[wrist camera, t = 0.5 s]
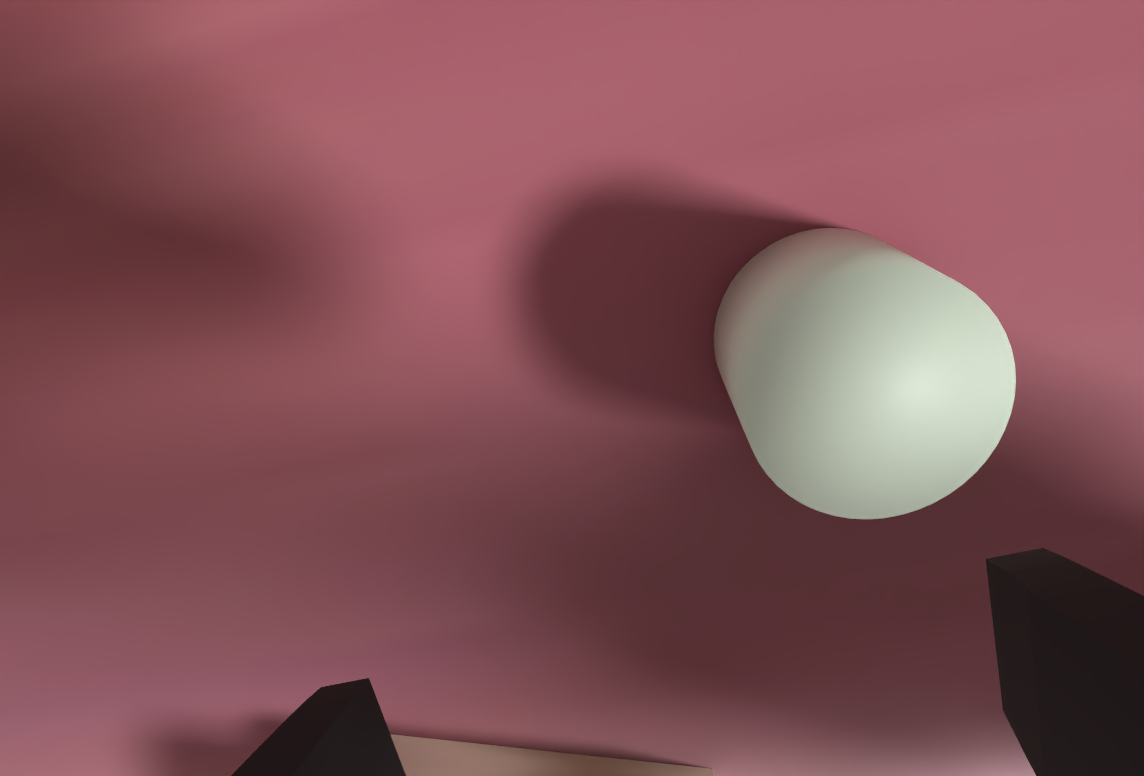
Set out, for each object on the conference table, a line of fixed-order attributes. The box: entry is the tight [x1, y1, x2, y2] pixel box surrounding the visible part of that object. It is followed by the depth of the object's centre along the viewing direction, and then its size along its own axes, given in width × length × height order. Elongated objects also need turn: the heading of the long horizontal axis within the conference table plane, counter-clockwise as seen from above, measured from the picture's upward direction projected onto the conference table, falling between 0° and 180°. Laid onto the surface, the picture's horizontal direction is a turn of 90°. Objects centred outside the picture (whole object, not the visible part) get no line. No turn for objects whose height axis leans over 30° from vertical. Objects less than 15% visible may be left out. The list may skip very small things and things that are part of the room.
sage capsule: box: [714, 228, 1016, 519], centre depth 17 cm, size 4×4×4 cm
